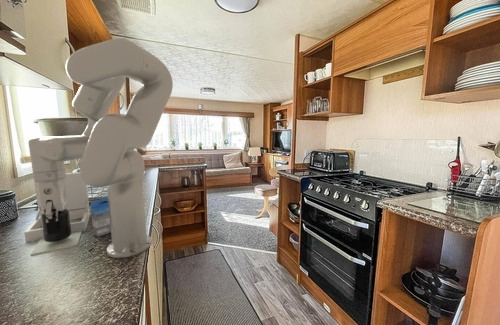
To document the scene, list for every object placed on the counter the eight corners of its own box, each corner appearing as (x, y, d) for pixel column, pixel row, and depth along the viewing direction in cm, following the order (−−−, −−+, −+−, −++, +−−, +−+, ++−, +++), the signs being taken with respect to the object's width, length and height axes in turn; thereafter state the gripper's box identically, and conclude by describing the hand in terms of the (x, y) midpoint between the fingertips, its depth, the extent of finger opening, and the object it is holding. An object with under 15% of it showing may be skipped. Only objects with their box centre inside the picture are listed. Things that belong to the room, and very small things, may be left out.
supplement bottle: (48, 245, 66) (43, 207, 64) (41, 239, 70) (35, 204, 68) (75, 235, 72) (71, 201, 70) (67, 231, 75) (63, 198, 74)
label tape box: (97, 237, 75) (93, 203, 73) (93, 234, 77) (89, 201, 75) (124, 228, 82) (121, 197, 80) (119, 225, 84) (116, 195, 82)
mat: (77, 245, 69) (77, 243, 69) (30, 255, 63) (30, 254, 63) (81, 232, 79) (81, 230, 78) (41, 240, 73) (41, 238, 73)
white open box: (85, 230, 80) (79, 179, 77) (25, 242, 71) (16, 185, 69) (90, 214, 95) (85, 171, 92) (41, 222, 87) (34, 175, 84)
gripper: (59, 179, 63) (67, 236, 65) (70, 170, 77) (76, 217, 80) (24, 182, 59) (33, 243, 61) (41, 172, 73) (49, 222, 76)
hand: (57, 228), depth 70 cm, fingers closed on supplement bottle, 6 cm apart
